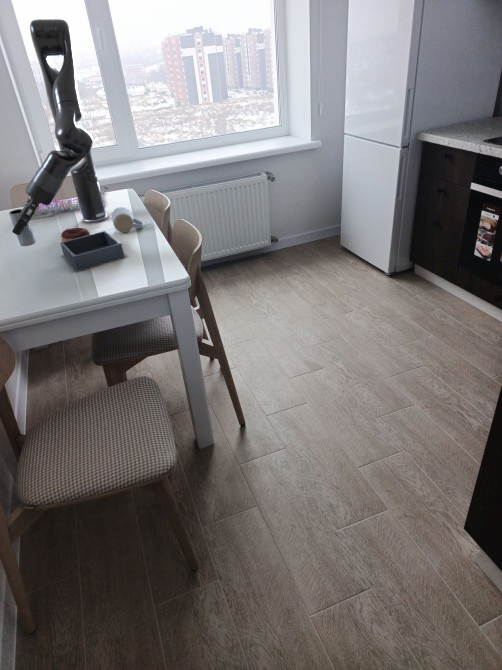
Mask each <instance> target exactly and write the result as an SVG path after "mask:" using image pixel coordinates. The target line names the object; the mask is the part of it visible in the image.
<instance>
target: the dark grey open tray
mask: <svg viewBox="0 0 502 670" xmlns="http://www.w3.org/2000/svg"><path fill="white" fill-rule="evenodd" d="M59 244H60V248H61V251H62V254H63V256H64V258H65V259H66V260H67V261H68V262H69V264H70V265H71V266H72V267H73V268H74V269H75V270H76V272H79V271H83V270H87V269H90V268H93V267H96V266H101V265H103V264H107V263H111V262H114V261H118V260H121V259H125V253H124V249H123V244H122V243H121V242H120V241H119V240H117V239H116V238H115V237H113V235H111V234H110V233H109V232H107V231H106V230H102V231H99V232H95V233H90V235H87V236H83V237H80V238H76V239H72V240H68V241H64V242H63V241H60V242H59Z"/></svg>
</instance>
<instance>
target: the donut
mask: <svg viewBox="0 0 502 670" xmlns="http://www.w3.org/2000/svg"><path fill="white" fill-rule="evenodd" d="M87 235H91V233H90V231H89V230H88V229H87V228H85V227H73V228H66V229H65V230H63V231H62V232H61V234H60V236H61V237H60V238H61V240H62V241H61V242H64V241H68V240H72V239H76V238H80V237H83V236H87Z"/></svg>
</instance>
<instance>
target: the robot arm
mask: <svg viewBox="0 0 502 670" xmlns="http://www.w3.org/2000/svg"><path fill="white" fill-rule="evenodd" d="M29 32H30V37H31V40H32V44H33V48H34V51H35V55H36V57H37V60H38V64H39V67H40V70H41V74H42V77H43V78H42V79H43V83H44V86H45V91H46V96H47V101H48V104H49V107H50V112H51V114H52V118H53V122H54V135H55V138H56V140H57V142H58V143H57V144H58V149H59V150H57V149H55V150H50V151H49V153H48V154H47V156H46V157H45V159H44V161H42V164H41V165H40V166H39V168H38V169H37V170H36V172H35V173H34V175H33V176H32V178H31V180H30V182H29V183H28V185H27V187H26V188H25V193H26V194H27V195H28V196H29V197H30V198H29V197H28V198H27V199H26V201H25V203H24V206H23V207H22V209H23V210H22V211H21V217H20V218H19V219H18V222H17V224H16V225H15V227H14V226H13V229H12V231H11V232H12V233H13V234H15V235H16V236H17V235H20V233H21V232H22V230H23V229H24V227H25V226H27V225H28V222H29V223H30V221H32V220H33V219H34V218H35V216H36V213H37V212H38V211H40V210H39V209H40V205H39V203H42V204H44V205H49V206H50V204H52V203H51V202H52V201H54V200H55V197H56V195H57V194H58V192H59V191H60V189H61V188H62V185H63V184H64V181H65V179H66V178H67V176H68V175H69V174H70V176H71V179H72V182H73V187H74V190H75V195H76V199H77V198H78V202H79V207H80V208H79V209H80V213H81V216H82V221H83V223H86V224H87V223H88V224H93V223H100V222H102V221H104V220H106V219H108V214H107V212H106V209H105V208H106V207H105V202H104V197H103V195H104V194H105V192H106V190H108V189H109V187H108V186H107V185H105V186H104V188H103V190H102V191H101V187H100V184H99V179H98V175H97V172H96V167H95V164H94V159H93V154H92V147H93V145H94V144H93V141H94V140H93V136H92V134H91V133H90V132H89V131H88V130H86V129H85V128H83V127H80V126H79V125H77V124H76V123H78V122H79V121H81V119H82V117H83V111H82V106H81V102H80V101H81V100H80V95H79V90H78V84H77V83H78V82H77V69H76V68H77V67H76V59H75V50H74V49H75V48H74V42H73V37H72V32H71V28H70V26H69V24H68V22H67V21H66V20H64V19H59V18H52V19H51V18H50V19H48V18H47V19H39V18H38V19H33V20H31V21H30V24H29ZM51 57H63V62H62V64H61V68H60V69H59V68H58V67H57V66H56V64H54V62H53V60H52V59H51ZM44 205H43V206H44ZM24 210H25V211H24ZM38 213H39V212H38ZM33 217H34V218H33ZM22 218H24V219H26V220H27V221H26V222H25V221H24V220H22Z"/></svg>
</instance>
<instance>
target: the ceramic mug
mask: <svg viewBox="0 0 502 670" xmlns="http://www.w3.org/2000/svg"><path fill="white" fill-rule="evenodd" d="M111 220H112V225H113V227H114V228H115V230H117V231H118V232H120V233H128V232H129V231H131V230H132V229H133V228H134V229H142V228H143V225H144V223H143V222H142V221H141V220H139V219H136V218H134V217H133V213H132V212H131V210H130V209H129V208H126V207H124V206H119V207H116V208H114V209H113V210H112V213H111Z"/></svg>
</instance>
